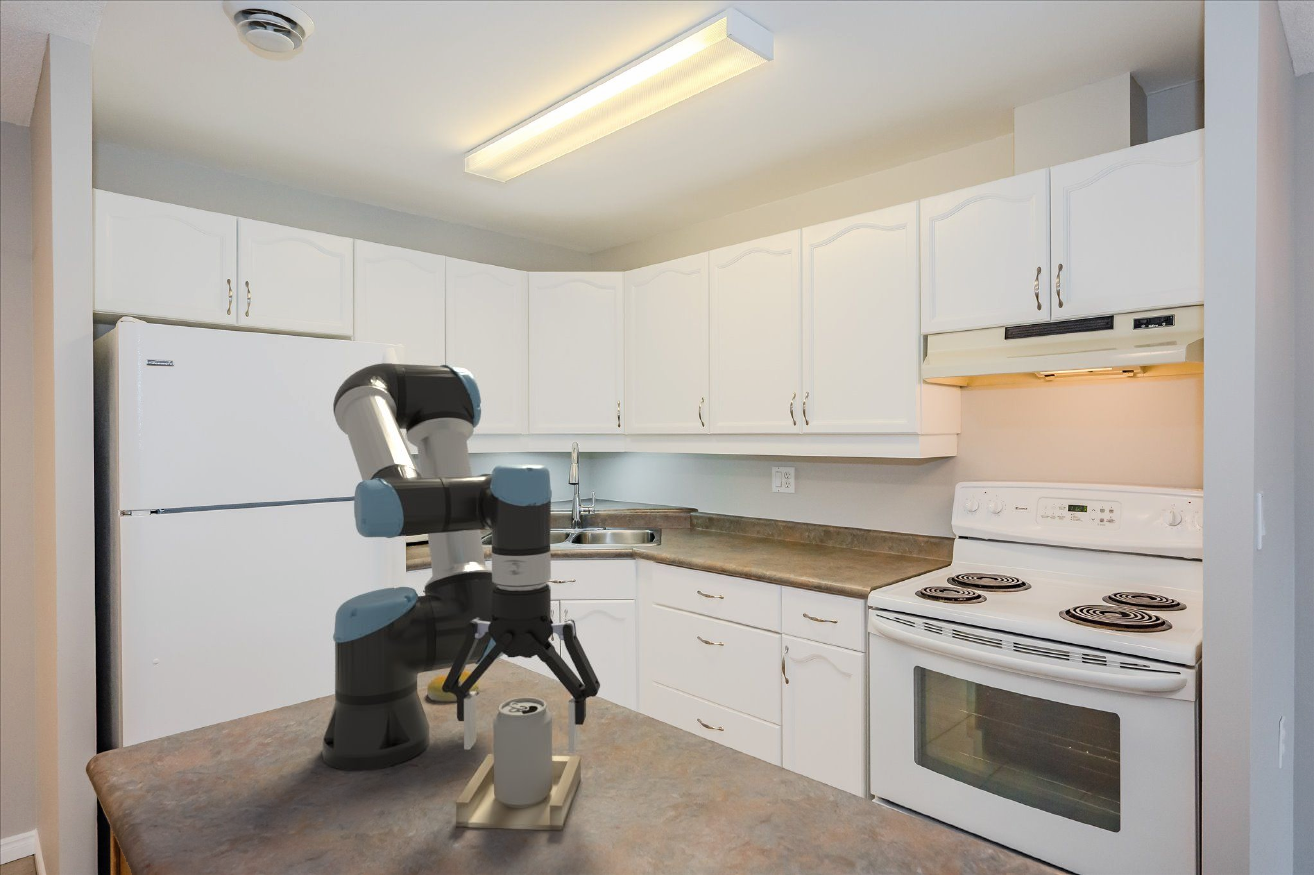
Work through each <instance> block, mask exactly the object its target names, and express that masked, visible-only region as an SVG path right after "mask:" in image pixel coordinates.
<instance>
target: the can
mask: <svg viewBox="0 0 1314 875" xmlns="http://www.w3.org/2000/svg"><path fill="white" fill-rule="evenodd" d="M547 707H548V704H547V702H546V701H545V700H543V699H542V698H539V697H538V698H537V697H534V696H523V697H516V698H511V699H508V700H506V701H504V702H502V703H500V705H499V706H498V708H497V709H498V712H497V713H496V714H495V716H494V717H493V722H492V723H493V733H492V734H493V754H494V796H495V797H496V798H497V800H499V801H501V802H502V803H503V804H504V805H506V806H508V807H512V808H526V807H531V806H534V805H537V804H539V803H540V802H542V801H543V800H544V799H545V797H546V796H548V795H549V794H550V793H551V791H552V788H553V781H552V756H553V716H552V715H553V714H552V712H551V711H550V710H549V709H548V708H547Z"/></svg>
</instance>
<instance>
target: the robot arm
mask: <svg viewBox="0 0 1314 875" xmlns="http://www.w3.org/2000/svg"><path fill="white" fill-rule="evenodd" d="M481 404H482V399H481V393H480V390H479V386H478V383H477V381H476V379H475V377H474V375H473V374H472V373H471V371H469V370H467V369H466V368H464V367H460V366H450V365H447V364H441V365H427V364H407V363H406V364H405V363H385V362H382V363H375V364H371V365H368V366H366V367H363V368H361V369H359V370H357V371H355V372H353V374H351V375H350V376H348V377H347V379H345V380H344V381H343V383H341V385H340V386H339V387H338V390H337V391H336V393H335V395H334V399H333V403H332V405H333V406H332V407H333V409H332V410H333V415H334V418H335V421H336V425H337V426H338V428H339V429H340V430H341V431H342V432H343V433H344V434H345V435H347V438H348V440H349V444H350V446H351V449H352V453H353V455H354V458H355V462H356V464H357V467H358V470H359V474H360V476H361V479H362V481H360V482H359V483H357V485H356V486H355V490H354V498H353V502H354V503H353V504H354V505H353V512H354V513H353V515H354V518H355V520H354V521H355V527H356V531H357V533H358V534H359V535H360V536H362V537H365V538H387V539H393V538H396V537H406V536H417V535H418V536H419V535H427V539H428V546H429V547H428V548H429V549H428V550H429V557H430V564H431V572H432V575H431V577H430V578H429V579H428V581H427V582H426V583H425V585H424V595H419V594H418V593H417V591H416V589H414V588H413V587H411V586H410V587H408V586H399V587H387V588H382V589H381V588H380V589H377V590H371V591H368V592H365V593H362V594H358V595H356V596H353V597H351V598H350V599H347V600H346V601H344V602H343V603H341V605H339V607H338V608H337V610H336V613H335V617H334V633H333V635H332V638H333V642H334V661H335V662H334V672H335V673H334V689H335V690H334V695H335V697H334V705H333V707H332V711H331V713H330V714H331V715H330V718H329V719H328V723H327V726H326V730H325V732H324V735H323V739H322V743H321V744H322V749H321V751H322V755H321V756H322V760H323V761H324V763H325V764H326V765H328V766H330V767H331V768H336V769H339V770H344V771H345V770H346V771H366V770H367V771H368V770H377V769H382V768H386V767H391V766H395V765H398V764H401V763H404V762H406V761H408V760H410V759H412V758H414V757H416V756H417V755H420V754H421V753H422V752H424V751H425V749H426V748H427V747H428V746H429V744H430V739H431V738H430V737H431V736H430V724H429V721H428V718H427V714H426V712H425V709H424V707H423V704H422V701H421V699H420V696H419V693H418V674H421V673H426V672H427V673H428V672H432V671H440V670H445V669H449V668H450V670H449V672H448V673H447V675H446V676H447V678H446V680H445V682H444V684H443V686H442V690H443V691H444V692H445V693H448V692H450V693H453V694H454V695H455V696H456V697H457V701H456V719H457V721H458V722H463V750H471V748H472V747H473V746H474V745H475V743H476V742H477V694H476V692H473V691H471V692H470V693H469V690H470V689H471V688H472V686H473V685H474V684H475V683H476V682H477V681H478V680H479V679H480V678H481V677H482V676H483V675H484V673H485V672H486V671H487V670H488V669H489V668H490V667H491V665H492V664H493V663H494V662H495V660H497V659H500V658H501V657H503V656H504V655H505V656H507V658H516V657H517V658H518V657H522V658H526V659H531V658H533V657H535V656H536V657H538V659H539V660H540V661H541V662H542V663H544V664H545V665H546V666H547V667H548V668H549V670H550V671H551V672H552V673H553V675H554V676H555V677H556V678H557V679H558V680H559V682H560V683H561V684H562V686H563V687H564V688H565V689H566V690H567V692H568V693H569V694H570V695H571V697H570V698H569V700H568V754H574V753H576V749H577V747H578V745H579V725H582V726H583V725H584V722H585V720H586V717H587V699H588V698H591V697H596V696H597V695H598V694H599V693H598V692H599V691H600V688H601V682H600V680H599V679H598V677H597V675H596V672H595V671H594V668H593V666H592V664H591V662H590V660H589V659H588V656H587V655H586V652H585V651H584V647H583V646H582V644H581V642H580V640H579V638H578V636H577V629H576V622H575V620H574V619H571V618H569V619H568V620H567V621H566V622H556V623H554V621H553V620H552V617H551V616H552V615H551V614H552V613H551V612H552V608H551V607H552V605H551V604H552V603H551V601H552V600H551V598H552V596H551V595H552V594H551V593H552V592H551V590H552V589H551V586H550V585H549V583H548V582H550V580H551V578H552V575H551V574H552V570H551V569H552V568H551V567H552V566H551V565H552V564H551V563H552V562H551V561H552V559H551V558H552V556H551V555H552V553H551V528H552V526H551V523H552V521H551V520H552V517H551V512H552V511H551V510H552V508H551V507H552V505H551V504H552V495H553V494H552V493H553V491H552V487H551V477H550V475H551V474H550V471H549V468H547V466H545V465H542V464H530V463H529V464H527V463H525V464H522V463H521V464H520V463H519V464H516V463H515V464H514V463H513V464H510V463H509V464H501V465H500V464H499V465H497V466H495V467H494V468H493V470H492V472H491V473H483V474H479V475H475V476H474V475H473V474H472V469H471V468H472V467H471V462H470V461H471V460H470V455H469V448H468V443H467V442H468V440H469V439H470V438H471V437H472V436H473V434H474V432H475V431H474V430H475V428H476V427H478V425H479V423H480V421H481V417H482V408H481V407H482V406H481ZM401 430H405V431H406V440H407V441H408V442H409V443H410V444H411V445H413V446H414V447H416V448H417V455H418V457H417V458H418V465H419V468H418V466H417V463H416V461H415V459H414V457H413V455H412V452H411V450H410V449H409V447H408V444H407V442H406V440H405V437H404V435H403V434H402V431H401ZM485 530H486V531H487V530H489V531H490V530H491V569H490V568H489V567H487V566H486V561H485V555H484V548H483V541H482V535H481V533H482V532H481V531H485ZM553 634H556V635H557V636H558V639H559V640H561V641H563V643H564V647H565V649H566V651H567V653H568V655H569V657H570V659H571V661H572V663H573V666H574V667H575V669H576V671H577V673H578V676H579V677H578V676H577V675H576V673H575V672H574V671H573V670H572V669H571V667H570V666H569V664H568V663H567V662H565V660H564V659H563V658H562V656H560V654H559V653H558V652H557V651H556V648H555V646H554V645H553V644H552V642H551V641H550V640H549V639H550V638H551V637H552V635H553ZM473 664H475V665H477V666H476V667H475V668H474V669H473V671H472V672H470V673H471V674H470V675H469V676H468V678H467V679H466V680H465V681H464V682H460V681H459V679H460V677H461V674H462V672H463V670H465V668H466V666H467V665H473ZM478 682H479V681H478Z"/></svg>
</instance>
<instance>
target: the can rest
mask: <svg viewBox="0 0 1314 875" xmlns="http://www.w3.org/2000/svg"><path fill="white" fill-rule="evenodd" d="M581 765H582V757H581V756H571V755H552V781H553V788H552V791H551V793H550V794H549V795H548V796H546V797H545V799H544V800H543V801H542V802H540V803H539V804H537V805H534V806H531V807H526V808H512V807H508V806H506V805H504V804H503V803H502V802H501V801H499V800H497V798H496V797H495V796H494V753H488V754H487V755H486V757H485V759H484V760H483V762H482V763H481V765H480V766H479V767H478V769H477V771H476V772H475V773H474V775H473V776H472V777H471V779H470V781H469V782H468V784H467V785H466V787H465V788H464V790H463V791H462V793H461V794H460V796H459V797H458V799H457V800H456V801H455V808H456V809H455V815H456V817H455V820H456V821H455V824H456V826H455V827H456V828H479V829H481V828H483V829H484V828H485V829H504V830H505V829H506V830H507V829H508V830H509V829H511V830H533V831H534V830H539V831H563V828H564V826H565V825H566V824H565V823H566V820H567V818H568V815H569V812H570V809H571V806H572V804H573V801H574V798H575V796H576V792H577V790H578V787H579V784H580V782H581V778H582V777H581V776H582V766H581Z"/></svg>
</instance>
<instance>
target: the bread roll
mask: <svg viewBox="0 0 1314 875" xmlns="http://www.w3.org/2000/svg"><path fill="white" fill-rule="evenodd" d="M471 673H472V672H470V671H468V670H465V669H464V670H463V672H462V674H461V677H460V679H459V681H460V682H464V681H465V680H466V679H467V678H468V676H469V675H470V674H471ZM447 676H448V675H438V676H435V677H434V678H433V679H432V680H431V681H430V682H429V683H428V685H427V696H428V698H429V699H430V700H432V701H434V700H435V701H434V702H441V703H449V702H451V703H453V702H454V703H455V702H457V697H456V696H455V695H454V694H453V693H450V692H448V693H445V692H444V691H443V690H442V686H443V684H444V682H445V680H446V678H447ZM471 691H473V692H476V695H477V694H478V693H479V691H480V685H479V681H477V682H476V683H475V684H474V685H473V686H472V688H471V689H470V690H469V693H470V692H471Z"/></svg>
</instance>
